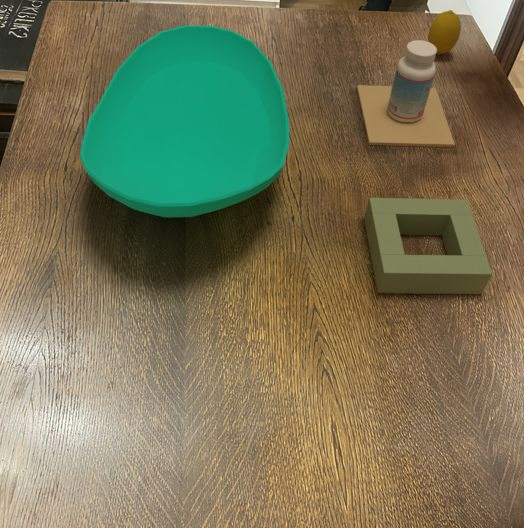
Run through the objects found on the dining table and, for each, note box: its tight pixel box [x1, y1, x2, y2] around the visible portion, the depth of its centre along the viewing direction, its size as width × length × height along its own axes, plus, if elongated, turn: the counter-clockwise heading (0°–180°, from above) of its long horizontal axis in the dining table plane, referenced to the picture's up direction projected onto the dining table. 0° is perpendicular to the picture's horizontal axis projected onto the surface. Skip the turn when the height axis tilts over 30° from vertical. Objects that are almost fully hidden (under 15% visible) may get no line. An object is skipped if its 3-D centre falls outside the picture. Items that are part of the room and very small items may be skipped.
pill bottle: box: [387, 39, 437, 122], centre depth 97 cm, size 6×6×11 cm
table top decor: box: [79, 24, 291, 218], centre depth 84 cm, size 40×28×13 cm
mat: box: [356, 84, 456, 148], centre depth 102 cm, size 14×16×1 cm
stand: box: [363, 197, 493, 295], centre depth 82 cm, size 14×14×4 cm
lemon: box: [427, 9, 462, 56], centre depth 111 cm, size 6×6×8 cm
